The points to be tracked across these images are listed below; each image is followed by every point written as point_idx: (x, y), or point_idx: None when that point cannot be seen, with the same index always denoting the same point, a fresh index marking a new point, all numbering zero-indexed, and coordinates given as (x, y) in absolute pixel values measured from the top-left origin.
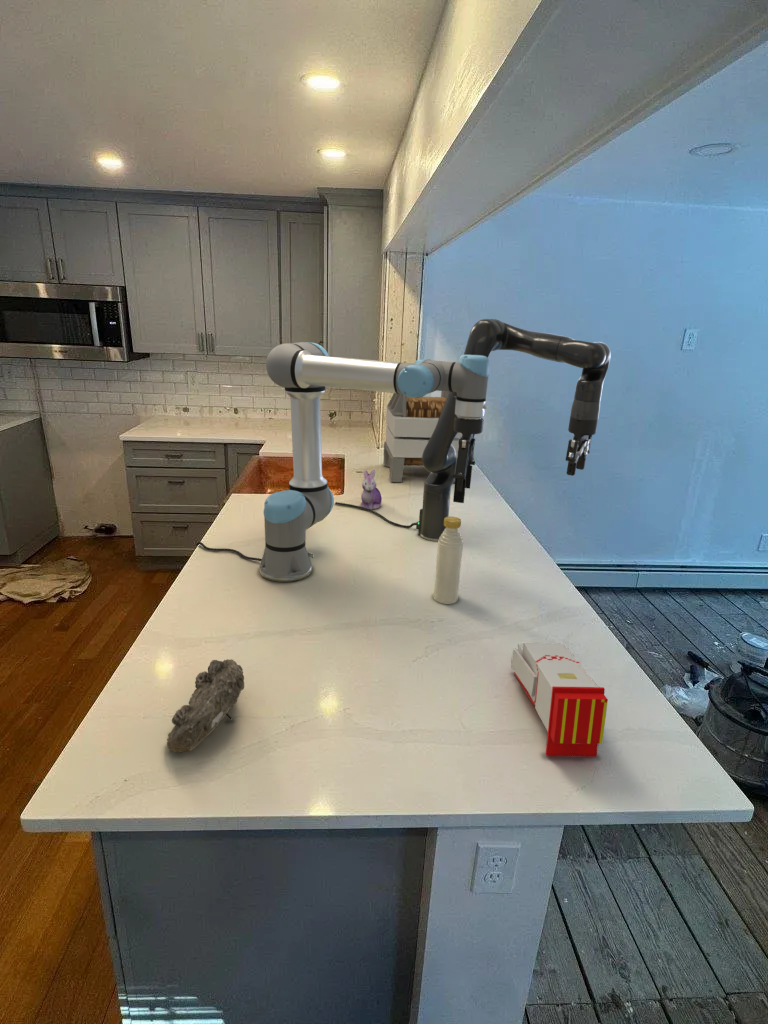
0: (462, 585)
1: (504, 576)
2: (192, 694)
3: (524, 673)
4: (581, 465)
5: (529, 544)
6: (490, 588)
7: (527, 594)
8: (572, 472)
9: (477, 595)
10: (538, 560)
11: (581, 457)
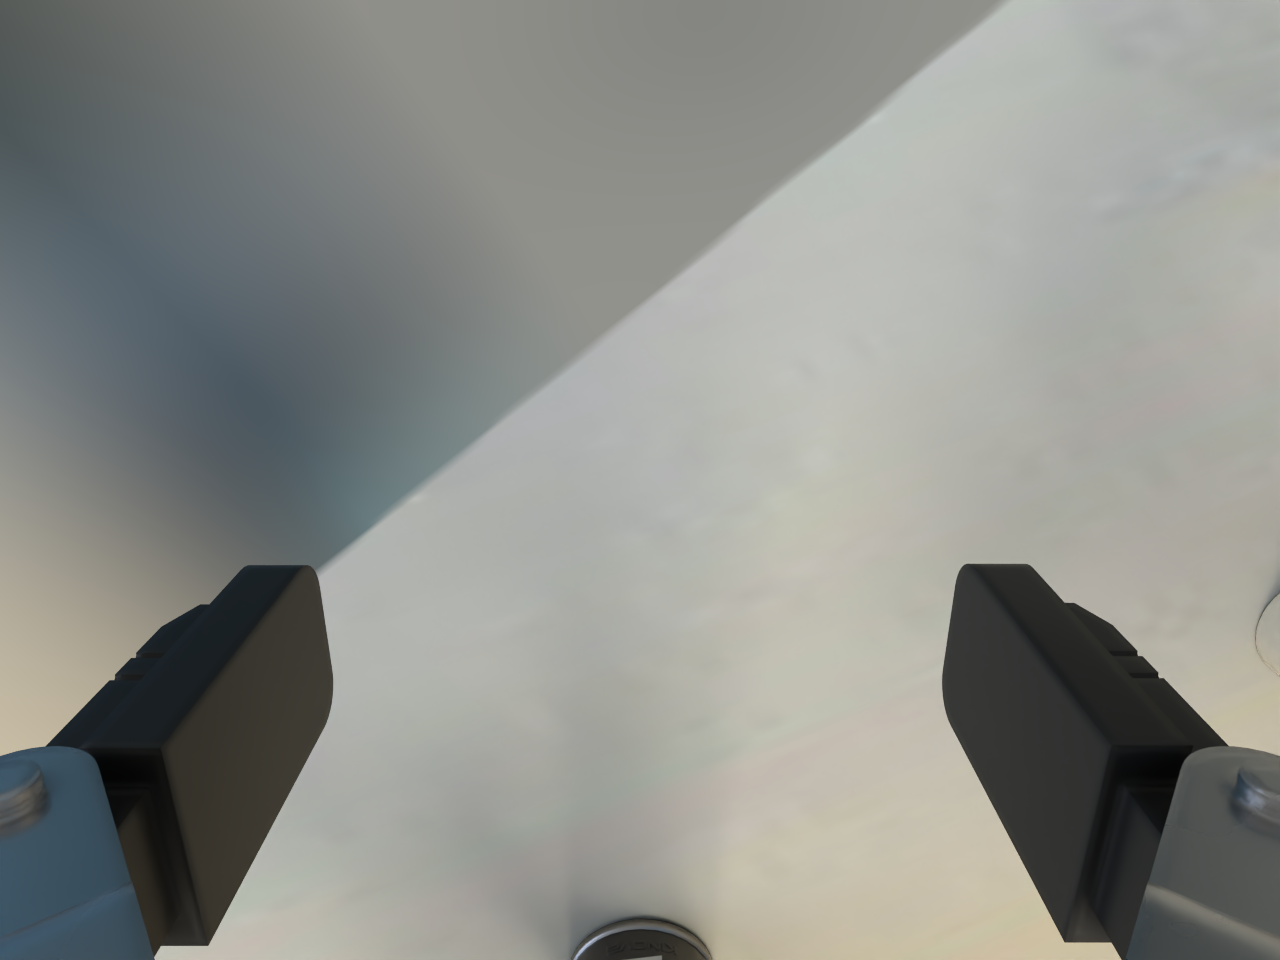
0: (1136, 624)
1: (899, 505)
2: None
3: None
4: (288, 658)
5: (342, 570)
6: (1094, 503)
7: (1059, 312)
8: (1110, 624)
9: (1212, 520)
10: (542, 437)
11: (187, 843)
